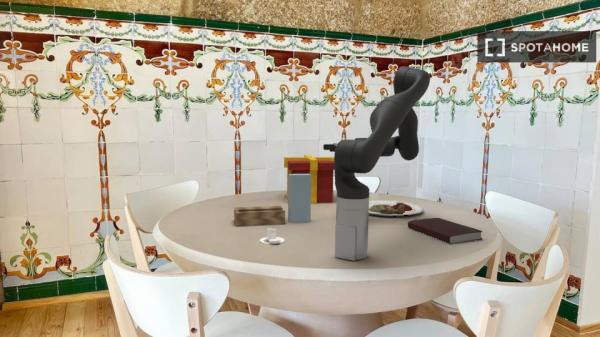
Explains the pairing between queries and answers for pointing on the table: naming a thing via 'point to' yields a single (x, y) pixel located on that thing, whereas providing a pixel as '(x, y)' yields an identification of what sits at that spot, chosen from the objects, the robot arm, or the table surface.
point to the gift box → (314, 175)
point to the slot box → (259, 215)
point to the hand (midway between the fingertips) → (326, 147)
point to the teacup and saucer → (272, 237)
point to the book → (445, 230)
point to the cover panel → (299, 198)
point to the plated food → (392, 208)
